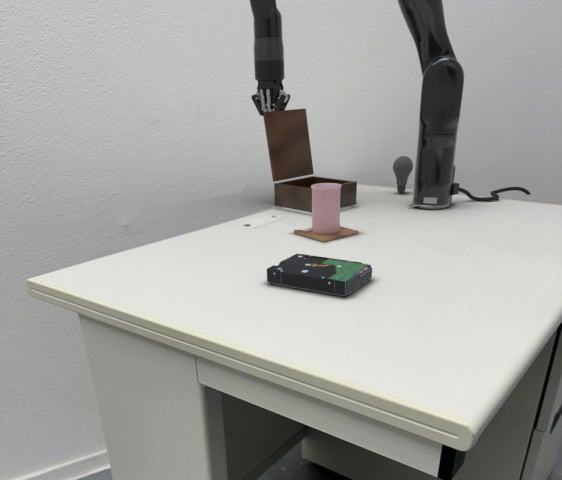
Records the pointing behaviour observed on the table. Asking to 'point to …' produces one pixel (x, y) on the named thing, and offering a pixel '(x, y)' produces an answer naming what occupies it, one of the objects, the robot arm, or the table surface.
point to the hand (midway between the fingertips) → (271, 133)
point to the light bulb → (402, 171)
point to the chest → (310, 192)
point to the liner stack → (326, 208)
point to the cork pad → (327, 237)
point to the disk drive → (320, 274)
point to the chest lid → (288, 143)
